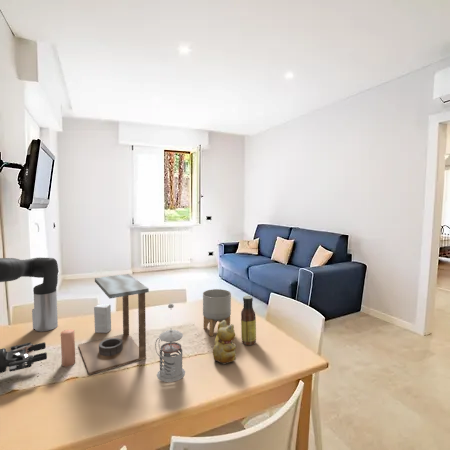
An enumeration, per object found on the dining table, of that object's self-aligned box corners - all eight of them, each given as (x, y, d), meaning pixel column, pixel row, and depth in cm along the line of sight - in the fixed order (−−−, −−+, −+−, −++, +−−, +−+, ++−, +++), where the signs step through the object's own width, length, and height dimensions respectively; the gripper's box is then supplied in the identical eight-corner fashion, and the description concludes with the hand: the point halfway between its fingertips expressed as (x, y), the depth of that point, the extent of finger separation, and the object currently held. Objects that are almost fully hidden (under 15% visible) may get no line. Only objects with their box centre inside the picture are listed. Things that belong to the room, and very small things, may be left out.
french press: (172, 385, 97) (171, 311, 95) (147, 374, 103) (146, 304, 101) (191, 371, 105) (191, 302, 103) (166, 361, 111) (166, 296, 109)
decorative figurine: (240, 361, 112) (240, 323, 111) (224, 370, 106) (225, 329, 105) (222, 352, 119) (222, 316, 117) (206, 360, 113) (206, 321, 111)
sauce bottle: (257, 340, 129) (258, 295, 127) (254, 347, 123) (254, 300, 122) (242, 338, 131) (243, 294, 130) (238, 344, 125) (239, 298, 124)
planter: (197, 333, 135) (198, 295, 134) (209, 323, 147) (210, 287, 146) (224, 339, 130) (224, 299, 129) (234, 327, 142) (234, 291, 141)
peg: (59, 366, 108) (58, 334, 107) (66, 359, 112) (65, 329, 111) (70, 367, 107) (69, 334, 106) (77, 360, 111) (76, 329, 110)
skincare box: (111, 329, 139) (111, 304, 138) (107, 333, 135) (106, 307, 134) (99, 328, 139) (98, 303, 138) (94, 332, 135) (93, 306, 134)
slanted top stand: (89, 376, 102) (87, 298, 99) (78, 345, 123) (76, 280, 121) (149, 358, 113) (148, 288, 111) (129, 333, 135) (128, 274, 133)
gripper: (-16, 362, 90) (46, 348, 99) (-11, 343, 102) (44, 332, 111) (-14, 386, 91) (47, 369, 100) (-10, 364, 102) (45, 351, 111)
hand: (46, 350), depth 105 cm, fingers open, 8 cm apart
